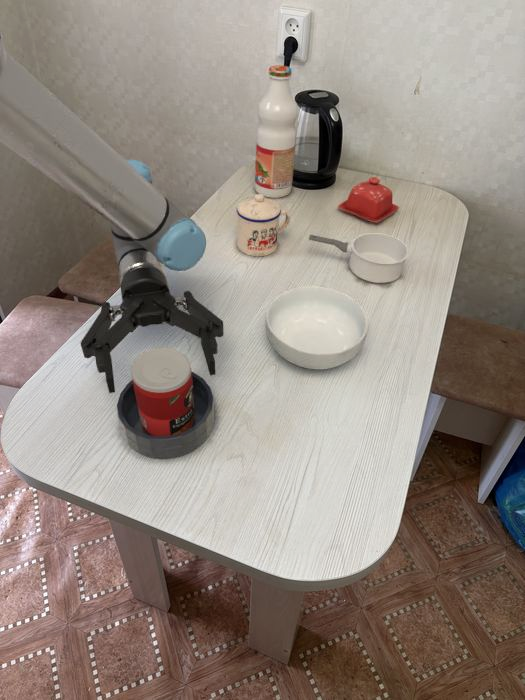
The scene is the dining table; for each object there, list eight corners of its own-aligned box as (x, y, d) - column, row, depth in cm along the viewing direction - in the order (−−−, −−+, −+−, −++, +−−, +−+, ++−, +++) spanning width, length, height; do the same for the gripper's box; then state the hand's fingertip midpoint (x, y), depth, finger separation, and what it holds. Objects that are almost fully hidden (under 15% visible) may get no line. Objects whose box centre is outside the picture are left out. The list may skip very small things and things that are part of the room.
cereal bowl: (259, 317, 92) (261, 285, 87) (348, 314, 93) (355, 283, 88) (269, 386, 80) (271, 354, 75) (371, 382, 81) (380, 350, 76)
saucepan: (311, 245, 110) (314, 222, 106) (404, 260, 107) (410, 237, 103) (301, 274, 102) (304, 250, 98) (401, 292, 99) (408, 268, 95)
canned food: (181, 448, 70) (175, 396, 62) (130, 431, 72) (118, 379, 64) (204, 408, 75) (201, 355, 68) (155, 393, 77) (147, 341, 69)
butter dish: (360, 196, 128) (366, 163, 122) (400, 211, 123) (408, 178, 117) (334, 211, 121) (339, 177, 116) (375, 229, 116) (383, 194, 110)
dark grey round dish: (112, 457, 69) (107, 437, 66) (132, 385, 78) (128, 365, 75) (209, 461, 69) (208, 441, 66) (217, 389, 79) (216, 369, 76)
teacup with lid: (246, 261, 104) (247, 210, 96) (229, 239, 110) (229, 189, 102) (297, 250, 108) (302, 199, 100) (278, 229, 114) (282, 180, 106)
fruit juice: (289, 200, 124) (299, 76, 105) (251, 196, 125) (255, 72, 106) (293, 183, 131) (304, 64, 112) (257, 179, 132) (262, 60, 113)
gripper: (219, 292, 88) (251, 379, 73) (69, 313, 82) (71, 412, 67) (218, 255, 82) (253, 341, 68) (58, 275, 77) (58, 373, 62)
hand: (162, 377), depth 68 cm, fingers open, 13 cm apart
